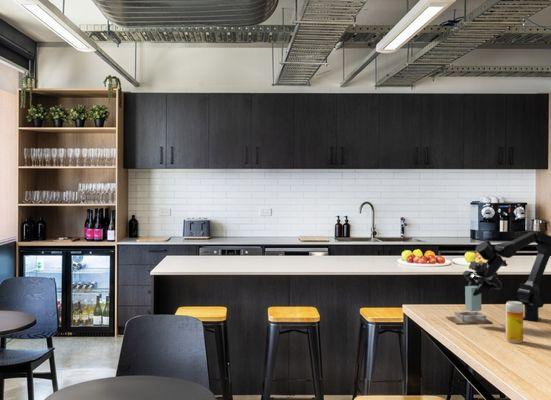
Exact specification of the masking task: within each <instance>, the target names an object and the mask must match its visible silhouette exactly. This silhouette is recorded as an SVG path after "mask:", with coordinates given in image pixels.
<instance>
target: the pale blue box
mask: <svg viewBox="0 0 551 400" xmlns="http://www.w3.org/2000/svg"><path fill="white" fill-rule="evenodd" d="M477 287H478V286H468V285H465V286H464V289H465V290H464V291H465V292H464V296H465V298H464V299H465V300H464V302H465V304H464V305H465V307H464V309H465V310H466V311H468V312H480V311H482V293H481V294H478V295H476V296H474V295H473V294H474V292H475V290H476V289H477Z"/></svg>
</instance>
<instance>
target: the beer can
mask: <svg viewBox="0 0 551 400" xmlns="http://www.w3.org/2000/svg"><path fill="white" fill-rule="evenodd" d="M523 317H524V305H523V304H522V303H521V302H520V301H519V300H518V301H517V300H508V301H506V303H505V340H506V341H507V342H508V343H509V344H510V343H511V344H521V343H523V341H524V319H523Z"/></svg>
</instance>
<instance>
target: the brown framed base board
mask: <svg viewBox="0 0 551 400" xmlns="http://www.w3.org/2000/svg"><path fill="white" fill-rule="evenodd" d="M445 319H447V320H448V321H450V322H452V323H454V324H455V325H459V326H461V325H490V324H494V322H493V321H491V320H490V319H487V315H486V314H483V313H482V312H480V311H455V312H454V316H445Z"/></svg>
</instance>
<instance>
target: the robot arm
mask: <svg viewBox="0 0 551 400" xmlns="http://www.w3.org/2000/svg"><path fill="white" fill-rule="evenodd" d="M532 243H535V244H536V249H537V254H536V257H535V260H534V263H533V265H532V267H531V271H530V273H529V275H528V277H527V280H526V282H525V283H520V284H519V288H518V290H517V297H518V302H521V303H522V305H523V306H524V307H523V321H530V322H539V321H541V320H542V317H540V316H539V315H540V313H539V310H540V309H541V308H543V307H544V305H545V304H544V303H545V302H544V300H543V299H541V297H540V294H541V291H540V284H541V280H542V278H543V275H544V274H545V270H546V268H547V265H548V264H549V263H548V262H549V260H550V257H551V235H549V234H546V233H544V232H542V231H539V230H530V231H528V232H527V233H525V234H523V235H521V236H518V237H517V238H515V239H512V240H511V241H506V242H505V241H504V242H500V243H497V244H496V245H495V246H493V245H492V244H491V242H490V241H489V240H484V241H483V242H480V243H479V244H477V245H476V247H475V251H476V252H477V254H478V255H479V256H480V257H481V258H482V260H484V261H481V262H477V261H472V260H470V263H469V266H468V270H464V272H463V273H462V276H463V277H464V278H465V279H466V280H467V281H468V285H467V286H478V287H477V289H476V290H475V292H474V294H473V295H474V296H476V295H478V294H481V295H482V294H483V293H485V292H487V291H490V290H493V289H495V290H500V289H501V288H502V285H503V283H502V282H501V281H500V280H499V278H498V273H497V272H498V271H499V270H500V268H501V267H507V266H508V265H507V260H506V259H510V258H512V257H513V256H515V255H516V254H517V252H518V251H519V250H521V249H523V248H524V247H526V246H528V245H530V244H532ZM503 258H506V259H503ZM485 261H486V262H485ZM469 269H470V270H473V271H470V270H469ZM478 282H479V283H478Z"/></svg>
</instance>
